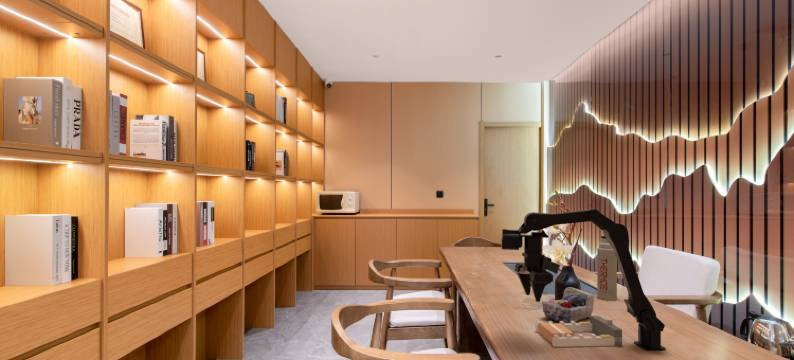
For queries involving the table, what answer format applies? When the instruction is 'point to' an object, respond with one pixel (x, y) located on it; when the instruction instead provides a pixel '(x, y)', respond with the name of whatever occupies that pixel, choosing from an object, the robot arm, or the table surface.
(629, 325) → the table surface
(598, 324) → the comb channel
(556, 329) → the block
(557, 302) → the cell model
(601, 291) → the thermos bottle
